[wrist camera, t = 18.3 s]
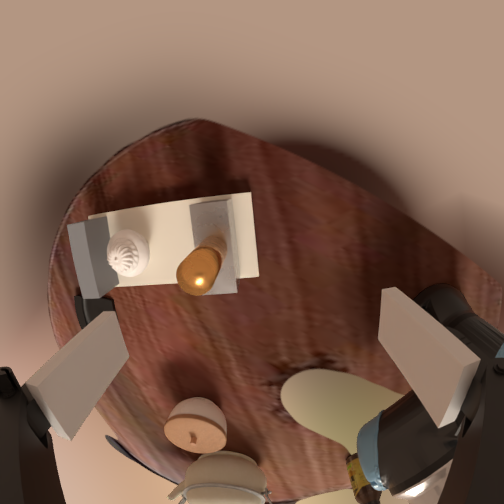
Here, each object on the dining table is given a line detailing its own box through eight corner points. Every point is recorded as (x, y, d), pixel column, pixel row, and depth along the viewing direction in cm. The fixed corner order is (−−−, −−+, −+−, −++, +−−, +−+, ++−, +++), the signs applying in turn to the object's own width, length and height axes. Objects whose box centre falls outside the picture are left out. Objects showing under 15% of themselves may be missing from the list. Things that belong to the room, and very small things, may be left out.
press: (251, 192, 36) (249, 193, 28) (258, 272, 38) (259, 293, 31) (94, 214, 37) (64, 221, 29) (107, 283, 39) (81, 302, 31)
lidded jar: (165, 389, 44) (150, 424, 35) (221, 385, 43) (214, 423, 34) (185, 425, 46) (175, 459, 37) (236, 423, 46) (232, 459, 36)
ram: (232, 198, 34) (213, 206, 19) (240, 275, 36) (229, 333, 21) (200, 201, 34) (160, 213, 19) (210, 277, 36) (182, 335, 22)
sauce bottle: (342, 457, 49) (358, 521, 29) (366, 446, 48) (387, 509, 29) (348, 465, 50) (363, 525, 31) (371, 456, 49) (390, 514, 30)
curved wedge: (91, 355, 44) (87, 360, 42) (77, 291, 40) (72, 295, 39) (127, 364, 43) (124, 369, 42) (116, 297, 40) (111, 301, 39)
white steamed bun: (120, 223, 35) (93, 231, 28) (159, 227, 35) (138, 237, 28) (119, 265, 36) (95, 281, 30) (157, 271, 37) (138, 289, 30)
